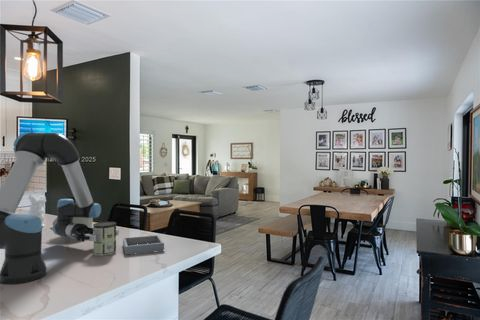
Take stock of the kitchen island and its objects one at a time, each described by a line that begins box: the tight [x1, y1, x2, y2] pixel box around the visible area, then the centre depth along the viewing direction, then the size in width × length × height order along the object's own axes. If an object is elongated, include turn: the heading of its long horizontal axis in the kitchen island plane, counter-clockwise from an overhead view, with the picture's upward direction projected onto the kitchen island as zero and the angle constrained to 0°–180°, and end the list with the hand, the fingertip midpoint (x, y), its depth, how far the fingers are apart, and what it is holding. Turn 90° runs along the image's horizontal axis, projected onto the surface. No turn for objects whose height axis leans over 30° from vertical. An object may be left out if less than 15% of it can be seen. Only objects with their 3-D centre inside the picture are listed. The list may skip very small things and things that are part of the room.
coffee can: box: [92, 221, 117, 257], centre depth 156 cm, size 10×10×14 cm
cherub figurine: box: [28, 194, 47, 228], centre depth 212 cm, size 12×12×22 cm
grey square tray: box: [122, 234, 165, 256], centre depth 164 cm, size 18×18×4 cm
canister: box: [73, 217, 94, 228], centre depth 194 cm, size 18×18×21 cm
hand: (107, 235), depth 156 cm, fingers open, 13 cm apart
